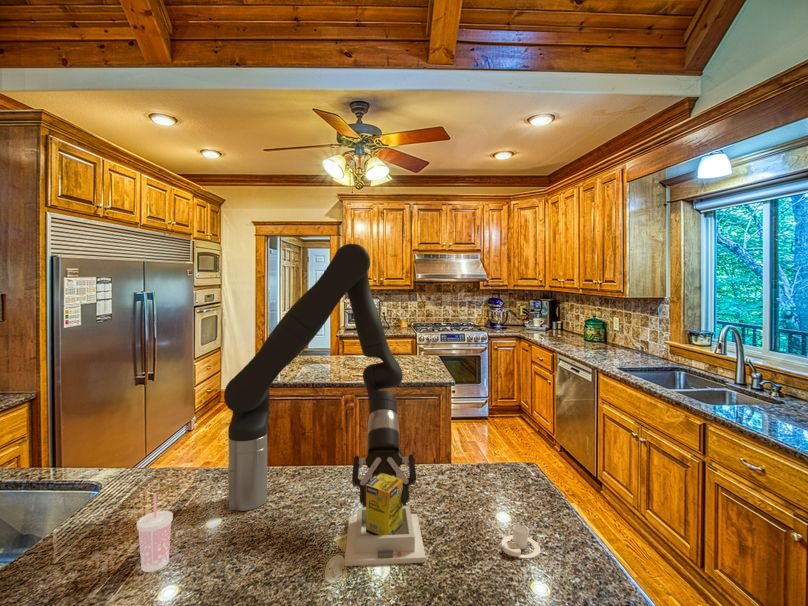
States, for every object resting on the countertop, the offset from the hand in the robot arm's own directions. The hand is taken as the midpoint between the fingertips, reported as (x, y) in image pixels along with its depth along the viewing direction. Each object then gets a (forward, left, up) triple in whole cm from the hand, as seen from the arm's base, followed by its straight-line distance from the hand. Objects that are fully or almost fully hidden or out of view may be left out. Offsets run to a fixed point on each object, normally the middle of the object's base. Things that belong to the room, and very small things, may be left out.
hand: (384, 505), depth 86 cm
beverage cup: (-44, +12, -8) cm, 46 cm away
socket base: (0, +1, -8) cm, 8 cm away
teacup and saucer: (+24, -11, -9) cm, 27 cm away
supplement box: (0, +1, -6) cm, 6 cm away
